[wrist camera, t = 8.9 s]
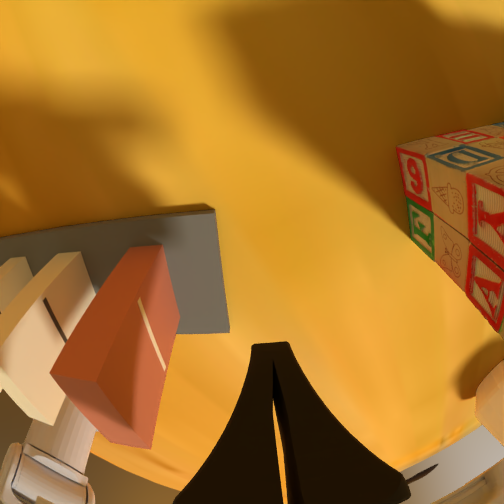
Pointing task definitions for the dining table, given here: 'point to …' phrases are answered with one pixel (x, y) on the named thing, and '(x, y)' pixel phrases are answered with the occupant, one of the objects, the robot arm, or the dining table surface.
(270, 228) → the dining table surface
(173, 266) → the domino mat
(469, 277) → the stack of blocks
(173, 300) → the red domino
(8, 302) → the ivory domino
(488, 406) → the cup
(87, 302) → the ivory domino
